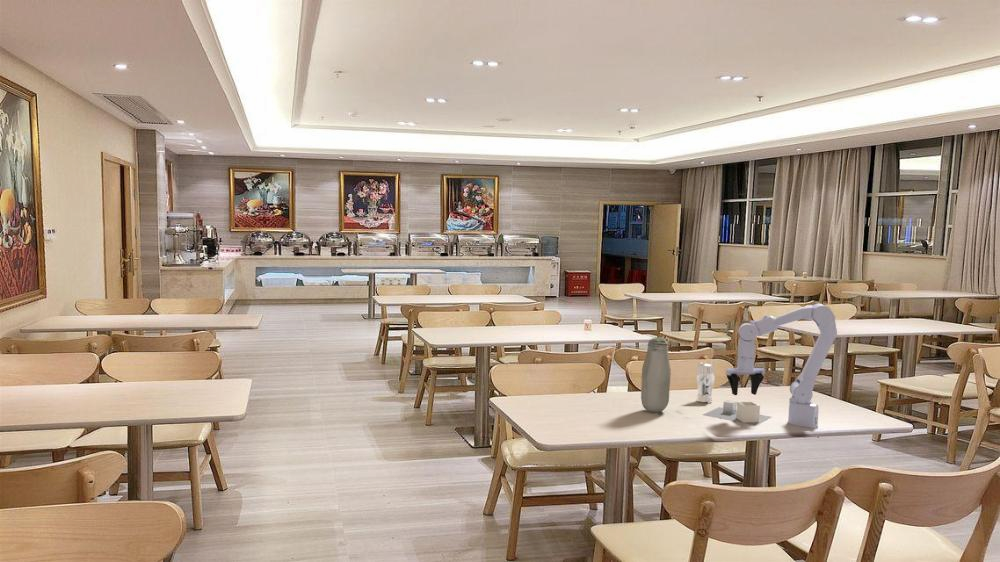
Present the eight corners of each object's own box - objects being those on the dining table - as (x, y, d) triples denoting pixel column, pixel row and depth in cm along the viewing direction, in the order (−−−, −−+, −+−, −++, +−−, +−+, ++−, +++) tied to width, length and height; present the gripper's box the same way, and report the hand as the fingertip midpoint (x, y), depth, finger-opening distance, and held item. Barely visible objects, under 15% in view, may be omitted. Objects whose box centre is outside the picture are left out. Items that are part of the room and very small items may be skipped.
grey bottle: (657, 416, 266) (660, 340, 264) (635, 410, 274) (638, 336, 272) (673, 412, 272) (677, 338, 270) (652, 407, 280) (655, 334, 278)
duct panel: (772, 420, 266) (772, 416, 266) (757, 428, 253) (757, 425, 253) (718, 410, 278) (719, 407, 278) (702, 418, 266) (702, 414, 265)
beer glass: (699, 398, 297) (701, 362, 296) (716, 401, 293) (718, 364, 292) (692, 401, 292) (694, 364, 291) (709, 404, 287) (710, 366, 286)
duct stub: (735, 415, 271) (736, 401, 270) (732, 417, 268) (733, 403, 268) (726, 413, 273) (727, 400, 273) (722, 415, 270) (723, 401, 270)
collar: (751, 418, 263) (752, 401, 263) (759, 422, 257) (760, 405, 257) (736, 418, 262) (737, 401, 262) (743, 422, 257) (744, 405, 256)
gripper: (757, 354, 267) (755, 391, 268) (721, 355, 263) (720, 392, 264) (769, 358, 260) (767, 395, 261) (732, 358, 256) (730, 396, 257)
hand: (744, 394), depth 262 cm, fingers open, 7 cm apart
